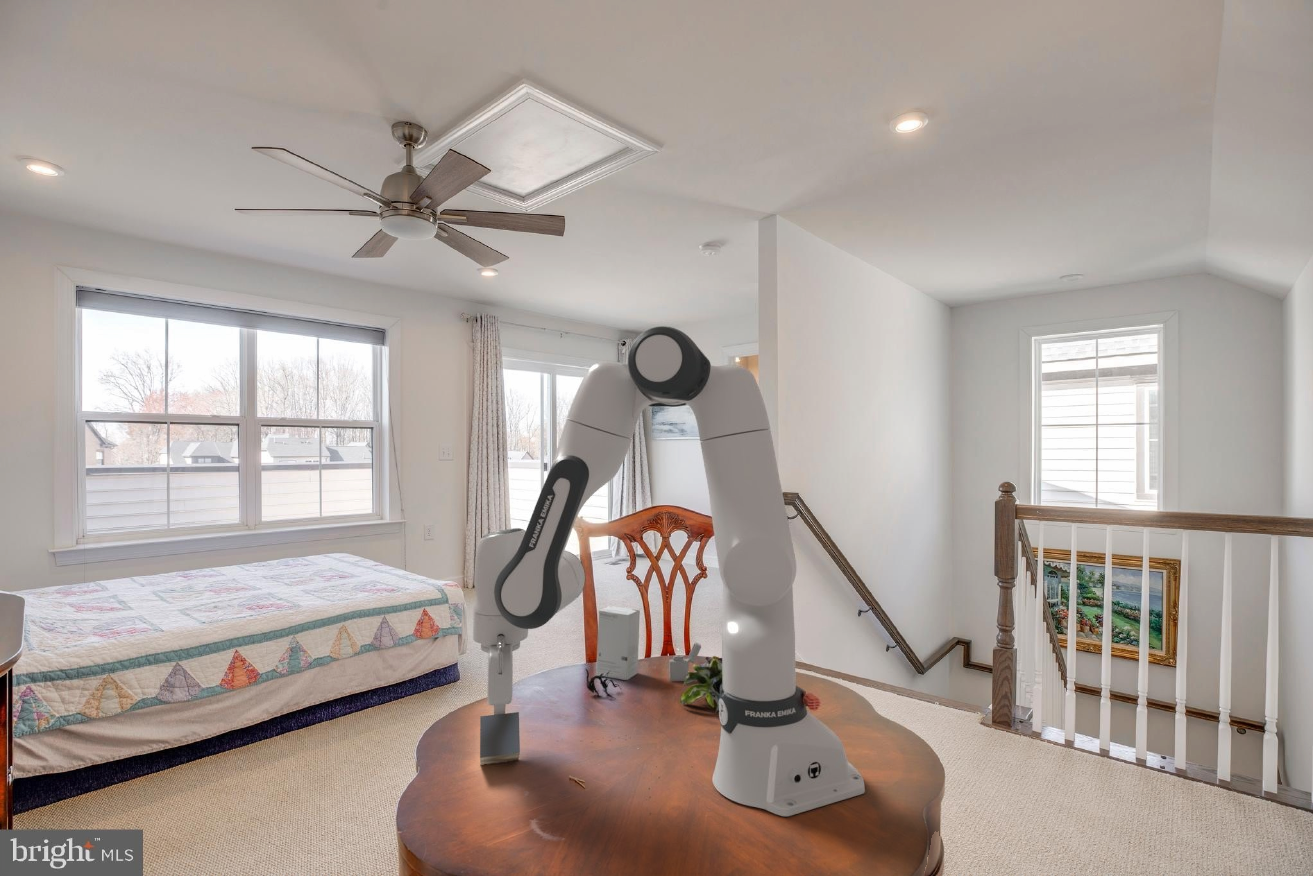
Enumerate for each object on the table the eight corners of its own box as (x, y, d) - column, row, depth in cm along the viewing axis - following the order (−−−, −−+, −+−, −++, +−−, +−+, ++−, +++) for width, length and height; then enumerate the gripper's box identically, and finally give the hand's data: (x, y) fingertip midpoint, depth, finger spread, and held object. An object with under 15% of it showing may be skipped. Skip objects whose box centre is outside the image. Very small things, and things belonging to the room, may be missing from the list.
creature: (615, 691, 135) (580, 686, 133) (620, 666, 136) (585, 661, 133) (624, 704, 128) (586, 700, 125) (629, 678, 128) (592, 673, 126)
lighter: (670, 681, 137) (669, 645, 138) (669, 678, 139) (669, 642, 140) (701, 680, 138) (701, 643, 138) (700, 677, 140) (700, 641, 140)
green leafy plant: (715, 725, 127) (746, 674, 130) (724, 738, 116) (757, 682, 119) (670, 693, 128) (701, 642, 131) (674, 703, 117) (708, 648, 120)
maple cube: (517, 721, 105) (518, 712, 100) (518, 760, 101) (519, 752, 97) (480, 725, 103) (480, 716, 99) (480, 765, 100) (480, 757, 95)
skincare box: (595, 676, 141) (595, 610, 142) (608, 668, 147) (608, 604, 147) (628, 681, 138) (628, 613, 138) (640, 672, 143) (640, 608, 144)
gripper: (522, 644, 93) (520, 737, 93) (519, 611, 113) (517, 688, 112) (478, 646, 92) (477, 741, 91) (483, 613, 111) (481, 691, 111)
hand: (499, 712), depth 102 cm, fingers closed
